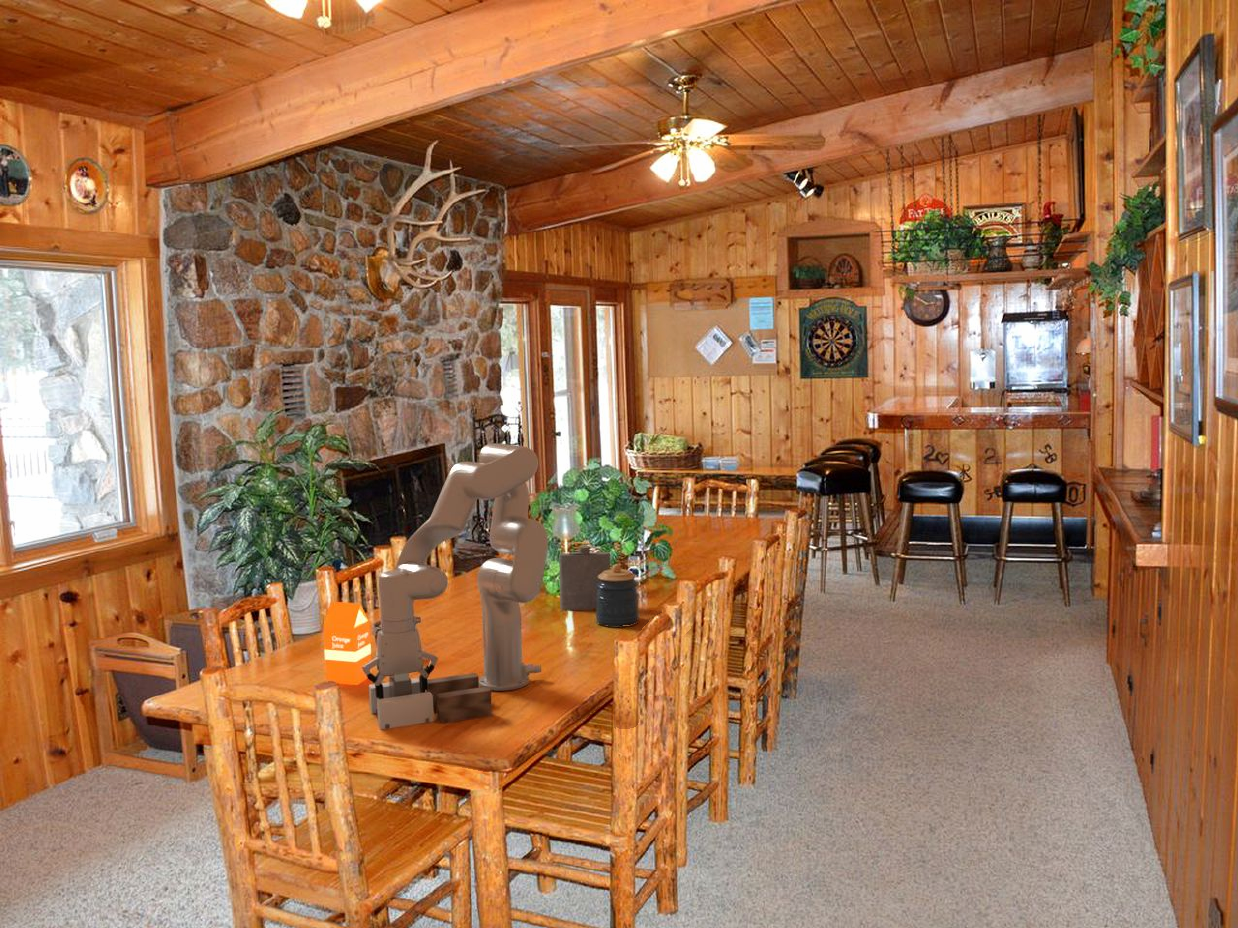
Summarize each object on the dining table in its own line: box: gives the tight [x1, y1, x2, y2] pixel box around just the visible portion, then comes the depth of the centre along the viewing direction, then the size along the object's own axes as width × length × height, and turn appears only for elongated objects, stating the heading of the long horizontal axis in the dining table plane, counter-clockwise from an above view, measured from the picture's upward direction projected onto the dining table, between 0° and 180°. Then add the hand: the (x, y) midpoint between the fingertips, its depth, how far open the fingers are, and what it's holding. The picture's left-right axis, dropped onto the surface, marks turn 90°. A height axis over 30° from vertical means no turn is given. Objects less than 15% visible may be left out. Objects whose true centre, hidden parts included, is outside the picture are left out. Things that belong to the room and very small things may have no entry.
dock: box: [368, 677, 435, 730], centre depth 253 cm, size 12×14×6 cm
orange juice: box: [323, 601, 373, 686], centre depth 279 cm, size 8×9×20 cm
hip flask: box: [558, 545, 611, 611], centre depth 344 cm, size 16×4×20 cm, turn 95°
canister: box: [595, 563, 640, 626], centre depth 328 cm, size 13×13×18 cm
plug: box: [388, 673, 412, 697], centre depth 253 cm, size 4×6×11 cm, turn 22°
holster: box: [426, 672, 493, 724], centre depth 256 cm, size 12×14×6 cm
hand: (402, 696), depth 253 cm, fingers open, 9 cm apart
